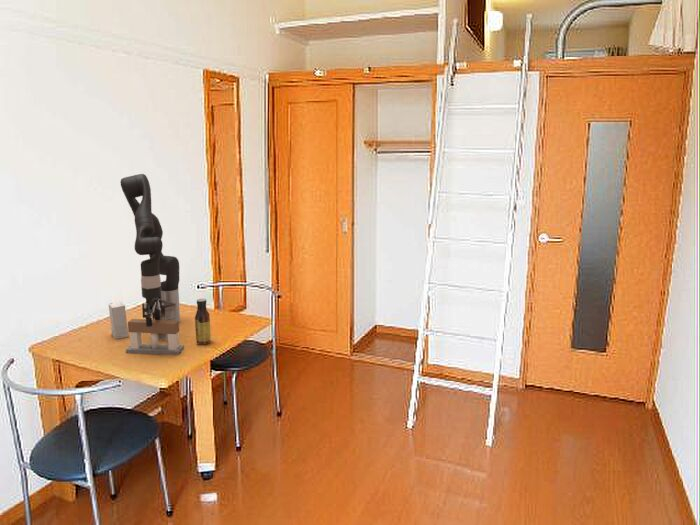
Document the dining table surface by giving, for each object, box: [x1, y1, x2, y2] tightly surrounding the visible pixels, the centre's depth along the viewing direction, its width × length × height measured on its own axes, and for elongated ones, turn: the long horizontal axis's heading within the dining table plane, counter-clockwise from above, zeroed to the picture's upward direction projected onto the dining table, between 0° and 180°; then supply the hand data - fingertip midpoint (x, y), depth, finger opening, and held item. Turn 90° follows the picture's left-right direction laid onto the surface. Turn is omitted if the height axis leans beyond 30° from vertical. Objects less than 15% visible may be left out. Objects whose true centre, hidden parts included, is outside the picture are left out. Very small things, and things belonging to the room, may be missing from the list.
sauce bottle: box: [194, 298, 212, 345], centre depth 233 cm, size 6×6×20 cm
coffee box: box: [151, 300, 176, 342], centre depth 239 cm, size 9×6×16 cm
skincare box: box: [108, 301, 129, 340], centre depth 240 cm, size 8×6×15 cm
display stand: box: [125, 332, 185, 356], centre depth 224 cm, size 7×22×8 cm, turn 87°
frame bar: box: [127, 318, 180, 334], centre depth 223 cm, size 4×20×4 cm, turn 86°
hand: (153, 322), depth 223 cm, fingers open, 8 cm apart
